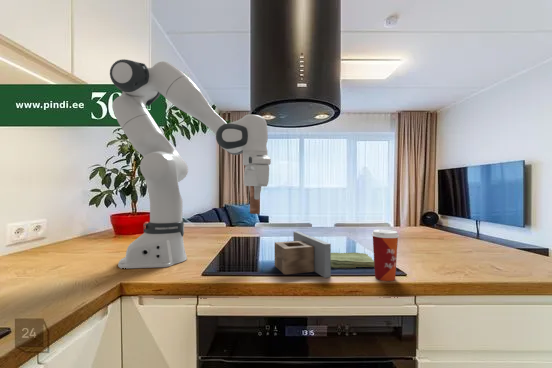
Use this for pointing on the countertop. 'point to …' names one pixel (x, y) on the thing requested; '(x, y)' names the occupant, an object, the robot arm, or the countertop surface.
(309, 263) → the block
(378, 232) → the paper cup
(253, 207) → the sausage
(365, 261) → the washcloth
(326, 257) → the wall
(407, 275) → the countertop surface
